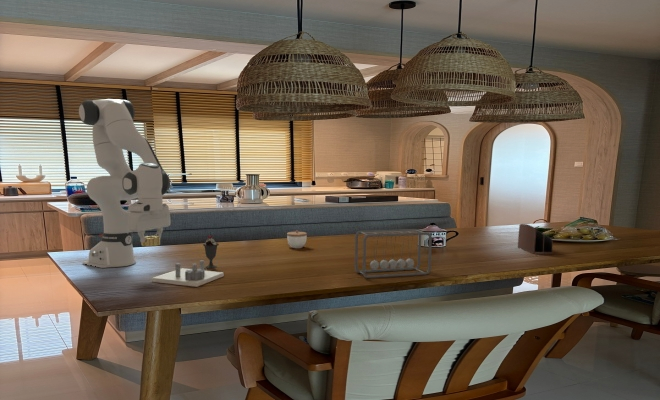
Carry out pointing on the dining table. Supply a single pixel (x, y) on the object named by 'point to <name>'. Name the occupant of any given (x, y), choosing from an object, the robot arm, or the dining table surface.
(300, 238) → the lidded jar
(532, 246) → the letter holder
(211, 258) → the sundae
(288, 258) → the dining table surface
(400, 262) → the newton's cradle
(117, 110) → the robot arm
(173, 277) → the gear board
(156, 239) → the gear
